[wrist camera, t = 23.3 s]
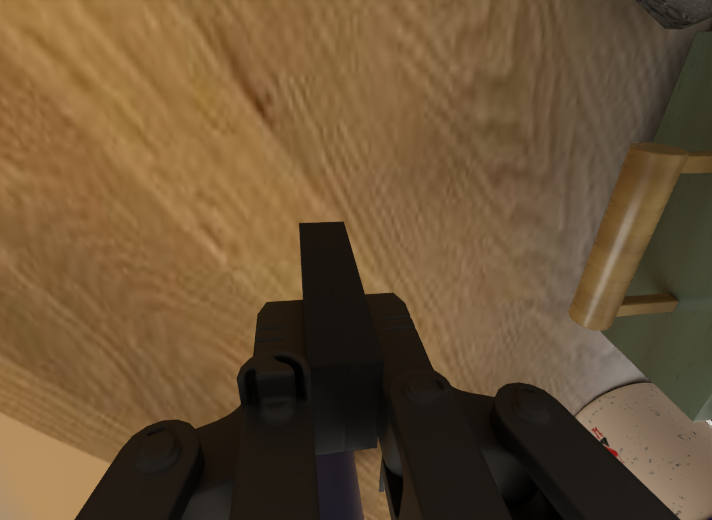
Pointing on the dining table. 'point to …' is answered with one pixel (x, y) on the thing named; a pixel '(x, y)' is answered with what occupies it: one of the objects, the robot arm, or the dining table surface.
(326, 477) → the navy cylinder
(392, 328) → the robot arm
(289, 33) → the dining table surface
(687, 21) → the serving tray
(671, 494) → the teacup with lid
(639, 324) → the drawer
